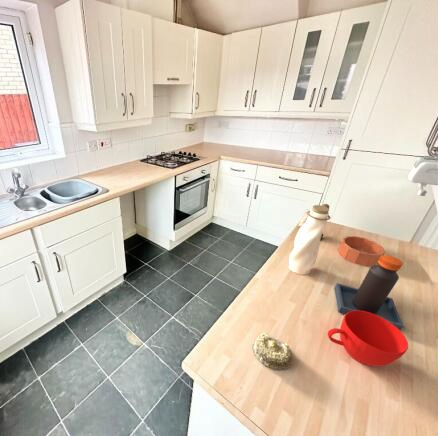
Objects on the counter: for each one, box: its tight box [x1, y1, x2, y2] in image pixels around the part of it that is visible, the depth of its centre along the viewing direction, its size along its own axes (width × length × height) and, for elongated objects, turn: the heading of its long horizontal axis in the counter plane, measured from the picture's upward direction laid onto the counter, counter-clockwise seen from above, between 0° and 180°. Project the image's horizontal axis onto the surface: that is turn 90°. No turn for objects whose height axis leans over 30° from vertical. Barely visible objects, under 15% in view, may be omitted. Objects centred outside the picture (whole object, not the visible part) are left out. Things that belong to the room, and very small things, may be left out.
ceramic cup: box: [327, 310, 409, 367], centre depth 66 cm, size 13×17×10 cm
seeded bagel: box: [252, 332, 292, 371], centre depth 68 cm, size 10×10×5 cm
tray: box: [334, 282, 405, 332], centre depth 81 cm, size 16×13×3 cm
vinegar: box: [353, 254, 404, 314], centre depth 77 cm, size 7×7×20 cm
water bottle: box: [288, 204, 331, 276], centre depth 94 cm, size 10×9×28 cm
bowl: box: [337, 235, 386, 267], centre depth 105 cm, size 14×14×6 cm
